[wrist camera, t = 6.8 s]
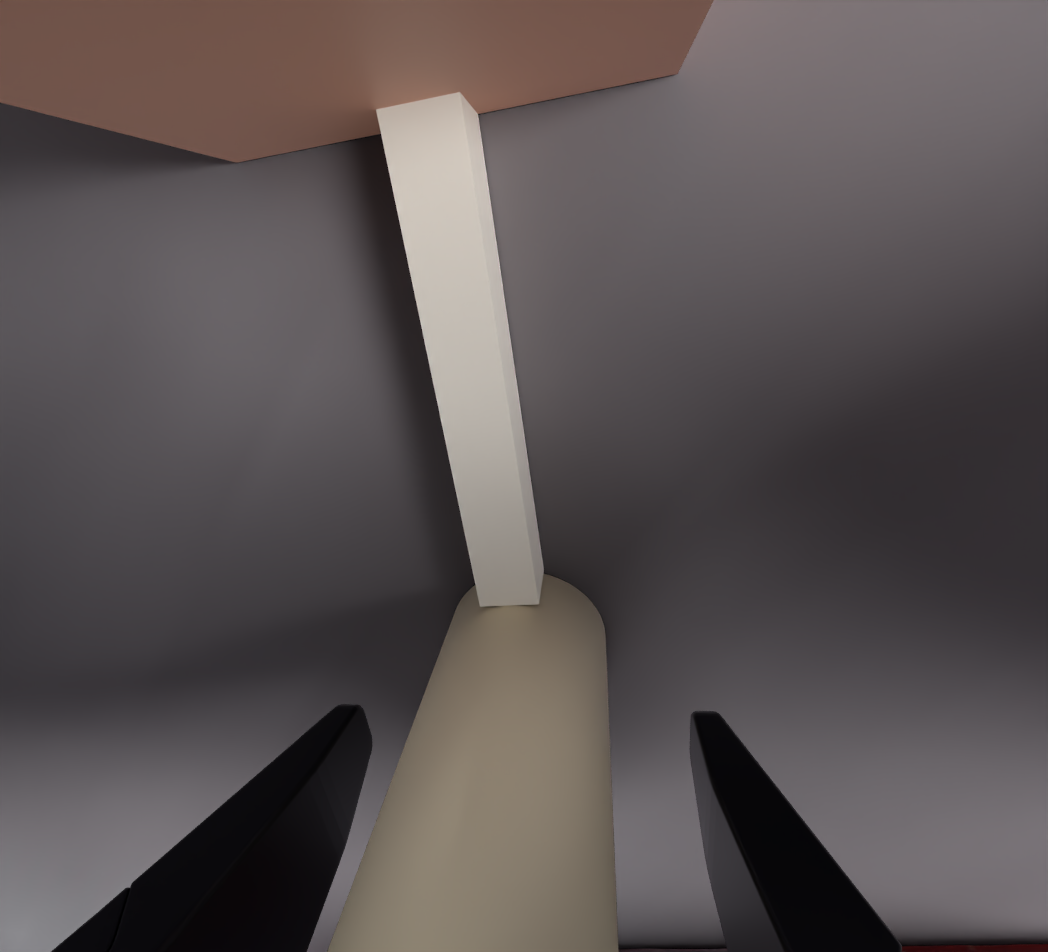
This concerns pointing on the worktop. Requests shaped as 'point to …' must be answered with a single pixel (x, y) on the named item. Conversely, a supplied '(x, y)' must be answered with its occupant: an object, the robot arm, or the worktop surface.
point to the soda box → (903, 949)
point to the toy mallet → (460, 386)
